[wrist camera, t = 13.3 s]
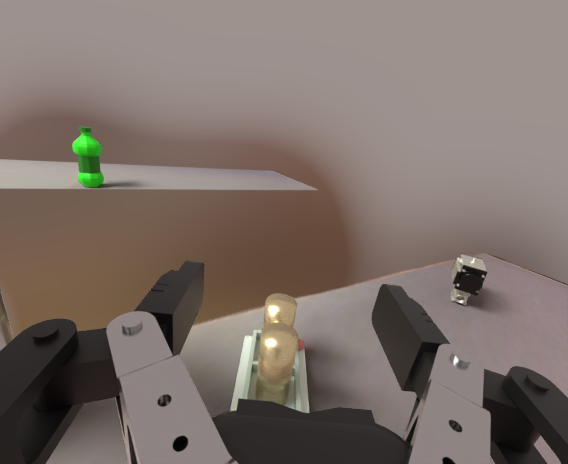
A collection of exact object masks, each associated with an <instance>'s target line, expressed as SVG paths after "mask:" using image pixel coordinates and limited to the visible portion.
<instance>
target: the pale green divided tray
mask: <svg viewBox="0 0 568 464" xmlns="http://www.w3.org/2000/svg"><path fill="white" fill-rule="evenodd" d="M261 331H262V330H254V331H253V336H245V340H244V344H243V349H242V354H241V359H240V364H239V369H238V374H237V379H236V384H235V389H234V394H233V399H232V404H231V408H230V411H234V410H237V404H238V398H240V399H251V400H256V399H255V386H256V377H257V367H258V358H259V348H260V338H261ZM284 406H286V407H289V408H292V409H295V410H298V411H301V412H304V413H309V401H308V389H307V376H306V363H305V351H304V341H303V340H301V339H298V341H297V347H296V353H295V359H294V365H293V371H292V377H291V383H290V389H289V395H288V400H287V402H286V404H285V405H284Z"/></svg>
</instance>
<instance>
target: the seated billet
mask: <svg viewBox="0 0 568 464" xmlns="http://www.w3.org/2000/svg"><path fill="white" fill-rule="evenodd" d="M296 307H297V303H296V301H295V299H294V298H292V297H291V296H289V295H286V294H272V295H270V296H269V297H268V298H267V299H266V304H265V312H264V320H263V328H264V327H265V326H266V325H268V324H271V323H276V322H279V323H285V324H288V325H290V326H291V327H293V325H294V319H295V313H296Z"/></svg>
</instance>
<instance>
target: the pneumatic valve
mask: <svg viewBox="0 0 568 464" xmlns="http://www.w3.org/2000/svg"><path fill="white" fill-rule="evenodd" d="M486 274H487V270H486V268H485V265H484V263H483V260H482V259H481V258H477V257H473V256H469V255H466V254H462V253H461V254H460V257H459V258H457V260H455V262H454V265H453V267H452V278H453V284H454V285H453V286H454V288H453V290H452V292H451V293H450V297H451V301H456V302H458V303H461V304H462V305H466V304H467V303H466V301H467V300H468V297H469V296H470V294H473V295H476V296H477V295H478V293H479V290H480V289H481V288H482V285H483V281H484V279H485V277H486Z"/></svg>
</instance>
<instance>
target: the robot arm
mask: <svg viewBox="0 0 568 464" xmlns="http://www.w3.org/2000/svg"><path fill="white" fill-rule="evenodd" d="M203 290H204V263H203V262H195V261H187V260H186V261H185V262H184V264H183V265H182V266H181V268H180V269H179V271H175V270H171V271H169V272H168V273H166V274H164V275H162V276H161V277H160V279H159V280H158V281H157V282H156V285H154V286H153V288H152V289H151V291H149V293H148V294H147V295H146V297H145V298H144V299H143V300H142V302H141V303H140V304H139V305H138V307H137V308H136V309H135V311H134V312H129V313H126V314H123V315H120V316H119V317H117V318H115V319H114V320H113V321H111V323H110V324H109V325H108V327H107V328H103V329H96V330H87V331H79V332H77V328H76V325H75V323H74V322H73V321H71V320H68V319H52V320H47V321H43V322H40V323H37V324H35V325H33V326H31V327H29V328H27V329H26V330H24V331H23V332H21V333H20V334H19V335H18V336H17V337H15V338H14V337H13V333H12V330H11V326H10V323H9V319H8V316H7V312H6V309H5V305H4V302H3V298H2V294H1V291H0V464H45V463H46V462H47V460H48V459H49V457H50V456H51V454H52V452H53V451H54V449H55V448H56V446H57V445H58V443H59V441H60V440H61V438H62V437H63V435H64V434H65V432H66V430H67V429H68V427H69V426H70V424H71V423H72V421H73V419H74V418H75V416H76V415H77V413H78V412H79V410H80V408H81V407H82V405H83V404H84V403H87V402H92V401H97V400H102V399H107V398H112V397H115V401H116V406H117V411H118V415H119V420H120V425H121V429H122V434H123V439H124V443H125V448H126V454H127V460H128V464H490V455H491V457H492V459H493V461H494V462H495V464H547V463H546V461H545V460H544V459H543V457H542V456H541V454H540V453H539V452H538V450H537V449H536V448H535V446H534V443H535V442H536V441H537V439H538V438H539V437H540V435H541V436H542V437H543V439H544V440H545V441H546V443H547V444H548V445H549V446H550V448H551V449H552V450H553V452H554V453H555V454H556V455H557V457H558V458H559V460H560V462H561V464H568V398H567V397H566V396H565V395H564V394H563V393H562V392H561V391H560V390H559V389H558V388H557V387H556V386H555V385H554V384H553V383H552V382H551V381H549V380H548V379H546V378H545V377H543V376H542V375H540V374H538V373H536V372H534V371H532V370H530V369H527V368H524V367H518V366H515V367H512V368H511V369H510V370H509V372H508V374H507V375H506V376H504V375H501V374H498V373H495V372H492V371H489V370H486V369H484V368H483V366H482V364H481V363H480V361H479V360H478V359H477V358H476V357H475V356H474V355H472V354H471V353H470V352H468V351H467V350H465V349H463V348H461V347H458V346H456V345H452V344H450V343H449V342H448V340H447V339H446V338H445V336H444V335H443V334H442V332H441V331H440V330H439V328H438V327H437V326H436V324H435V323H433V321H432V319H431V318H430V317H429V316H428V314H427V313H426V311H425V310H424V309H423V307H422V306H421V305H419V304H418V303H417V302H416V301H414V300H413V299H412V298H409V297H408V295H407V294H406V293H405V291H404V290H403V288H402V287H401V286H396V285H388V284H383V285H381V287H380V290H379V293H378V296H377V299H376V302H375V306H374V309H373V312H372V324H373V327H374V329H375V332H376V334H377V336H378V338H379V341H380V343H381V345H382V347H383V349H384V352H385V354H386V356H387V358H388V361H389V363H390V365H391V367H392V369H393V372H394V374H395V376H396V378H397V381H398V383H399V385H400V387H401V389H402V391H412V392H415V393H416V395H417V396H416V399H415V401H414V403H413V407H412V410H411V413H410V416H409V419H408V422H407V425H406V428H405V431H404V434H403V438H401V437H400V436H398V435H397V434H395V433H394V432H392V431H390V430H389V429H387V428H385V427H383V426H381V425H379V424H376V423H375V421H374V418H373V415H372V411H371V410H362V409H351V408H340V407H339V408H334V409H328V410H323V411H317V412H312V413H304V412H301V411H298V410H295V409H292V408H289V407H286V406H284V405H281V404H278V403H275V402H272V401H262V400H251V399H240V398H238V404H237V410H234V411H229V412H226V413H223V414H220V415H218V416H216V417H214V418H212V419H211V417H210V415H209V413H208V411H207V409H206V407H205V404H204V402H203V400H202V398H201V396H200V394H199V392H198V390H197V388H196V386H195V384H194V382H193V380H192V378H191V376H190V374H189V372H188V370H187V368H186V366H185V364H184V362H183V360H182V358H181V356H180V355H179V354H180V352H181V350H182V347H183V345H184V343H185V341H186V338H187V336H188V334H189V332H190V329H191V327H192V325H193V323H194V320H195V318H196V316H197V313H198V311H199V309H200V307H201V303H202V299H203Z"/></svg>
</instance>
